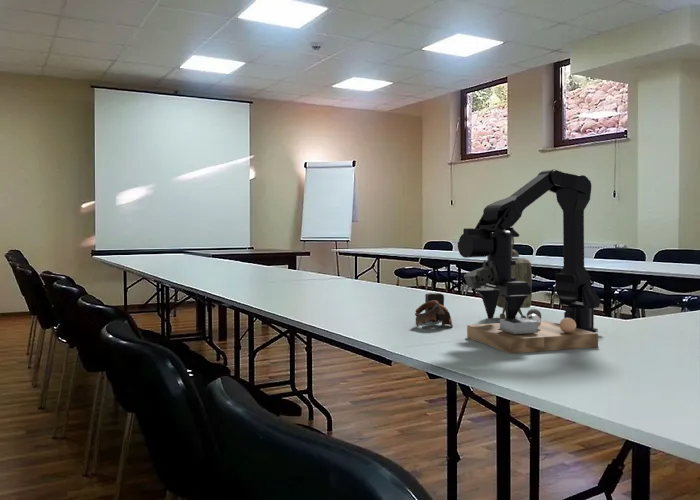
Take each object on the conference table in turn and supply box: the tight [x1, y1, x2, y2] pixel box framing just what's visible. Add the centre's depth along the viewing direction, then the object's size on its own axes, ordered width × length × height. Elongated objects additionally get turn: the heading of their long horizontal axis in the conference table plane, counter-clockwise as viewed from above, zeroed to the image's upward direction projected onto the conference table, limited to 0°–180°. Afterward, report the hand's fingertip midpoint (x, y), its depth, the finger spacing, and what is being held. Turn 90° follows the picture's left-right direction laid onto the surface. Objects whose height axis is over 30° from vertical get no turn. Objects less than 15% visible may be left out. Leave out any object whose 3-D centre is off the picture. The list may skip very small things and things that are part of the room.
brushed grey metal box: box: [499, 317, 538, 334], centre depth 133 cm, size 6×6×2 cm
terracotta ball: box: [559, 317, 576, 333], centre depth 132 cm, size 4×4×4 cm
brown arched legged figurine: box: [414, 300, 454, 329], centre depth 161 cm, size 12×10×8 cm
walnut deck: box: [466, 320, 599, 354], centre depth 138 cm, size 22×20×3 cm
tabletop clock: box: [494, 237, 533, 319], centre depth 173 cm, size 14×9×25 cm, turn 179°
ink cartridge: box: [424, 292, 445, 322], centre depth 171 cm, size 5×2×8 cm, turn 103°
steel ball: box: [526, 314, 542, 327], centre depth 138 cm, size 4×4×4 cm
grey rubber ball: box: [526, 308, 542, 320], centre depth 147 cm, size 4×4×4 cm
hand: (499, 321), depth 141 cm, fingers open, 9 cm apart
